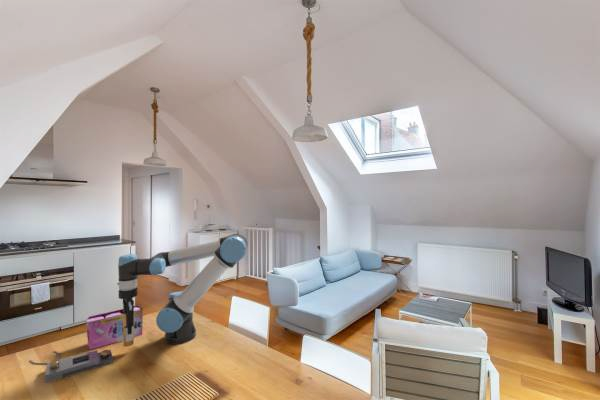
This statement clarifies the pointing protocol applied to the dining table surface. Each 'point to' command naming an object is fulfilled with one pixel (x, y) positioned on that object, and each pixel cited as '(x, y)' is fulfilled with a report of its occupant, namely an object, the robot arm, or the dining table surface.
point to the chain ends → (77, 364)
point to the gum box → (111, 327)
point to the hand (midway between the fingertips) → (128, 338)
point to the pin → (125, 334)
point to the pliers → (46, 363)
